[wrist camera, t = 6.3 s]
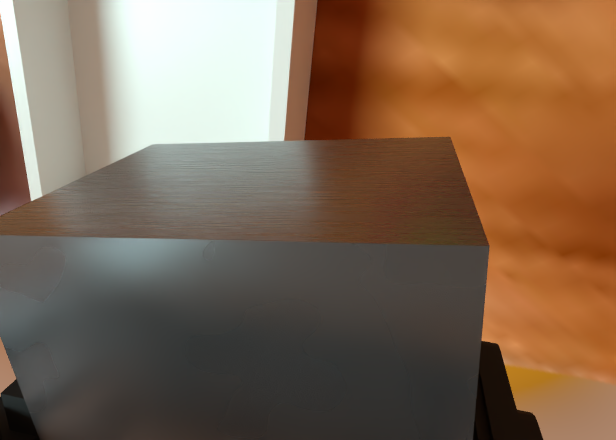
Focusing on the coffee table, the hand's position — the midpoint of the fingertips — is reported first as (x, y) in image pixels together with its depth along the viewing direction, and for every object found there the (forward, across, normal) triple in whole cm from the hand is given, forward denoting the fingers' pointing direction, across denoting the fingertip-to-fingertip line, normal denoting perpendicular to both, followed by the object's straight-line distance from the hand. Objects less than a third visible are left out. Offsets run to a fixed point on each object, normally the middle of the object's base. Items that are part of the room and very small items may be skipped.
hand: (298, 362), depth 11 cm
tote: (+18, +11, -3) cm, 22 cm away
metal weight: (+1, 0, 0) cm, 1 cm away
